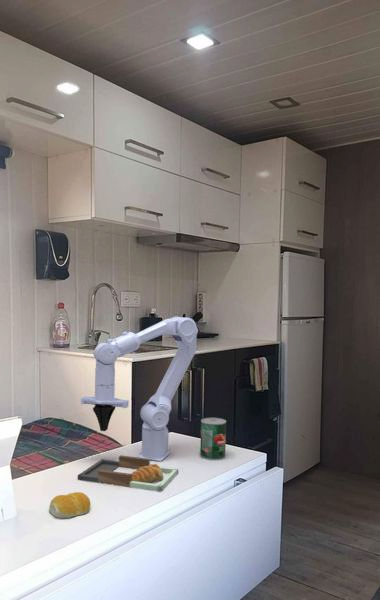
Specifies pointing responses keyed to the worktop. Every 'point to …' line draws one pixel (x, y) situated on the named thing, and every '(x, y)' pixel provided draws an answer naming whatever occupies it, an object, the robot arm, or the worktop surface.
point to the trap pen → (92, 471)
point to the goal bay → (157, 487)
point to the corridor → (119, 477)
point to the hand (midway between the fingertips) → (103, 430)
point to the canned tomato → (213, 438)
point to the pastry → (148, 474)
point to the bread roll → (69, 505)
